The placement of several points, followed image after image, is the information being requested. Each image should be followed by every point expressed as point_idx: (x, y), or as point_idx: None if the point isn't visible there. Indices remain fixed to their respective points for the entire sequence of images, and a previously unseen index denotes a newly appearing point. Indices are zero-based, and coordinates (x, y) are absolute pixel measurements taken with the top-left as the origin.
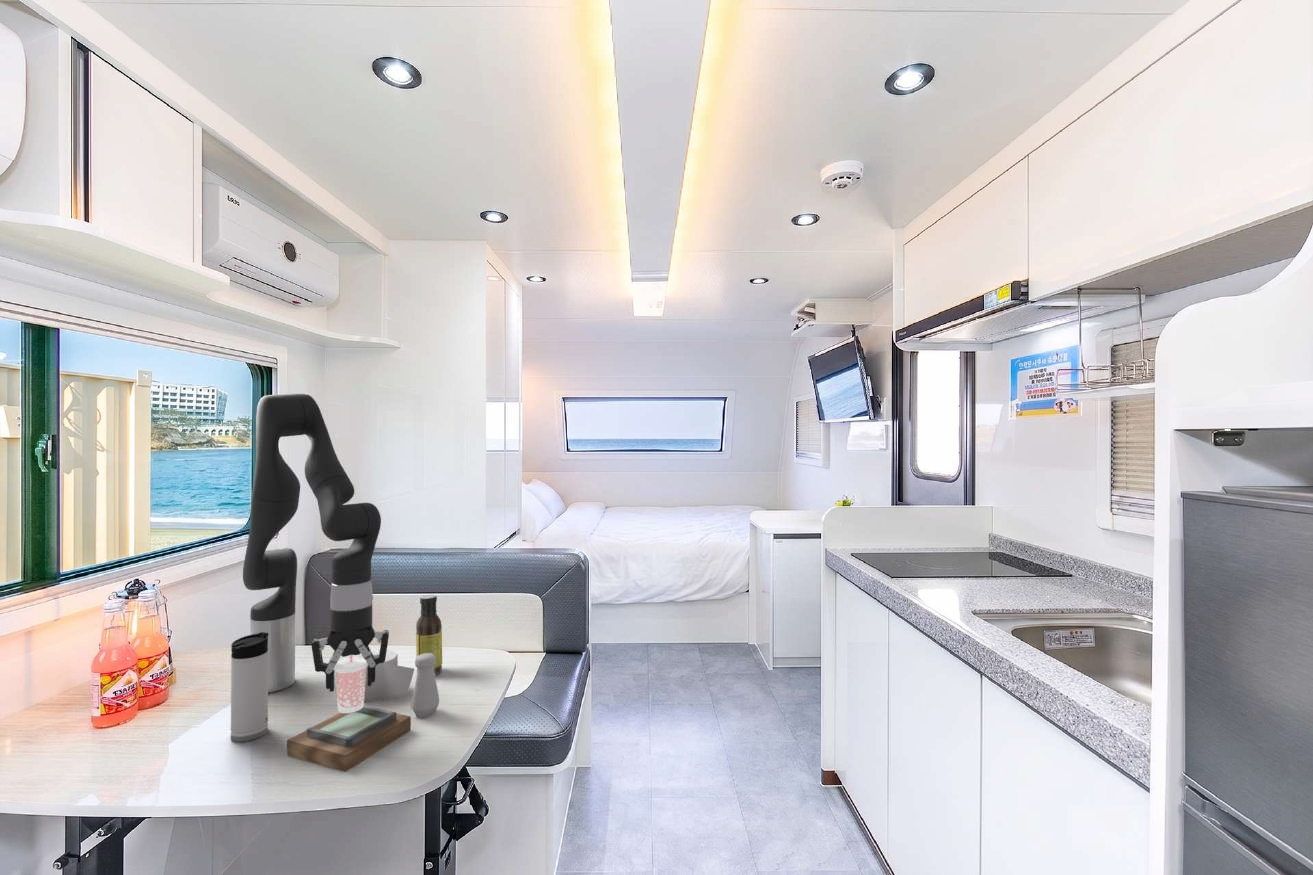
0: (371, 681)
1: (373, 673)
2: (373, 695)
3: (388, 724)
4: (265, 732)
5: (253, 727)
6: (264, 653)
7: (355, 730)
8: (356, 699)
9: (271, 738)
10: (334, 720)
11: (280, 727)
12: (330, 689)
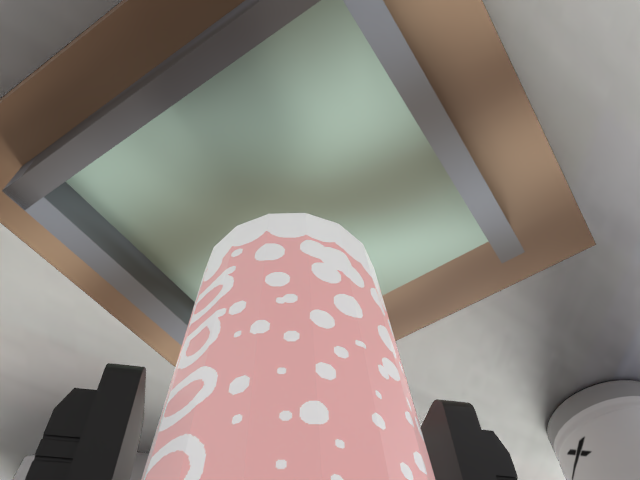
0: (96, 402)
1: (46, 477)
2: None
3: (69, 127)
4: (565, 404)
5: (635, 420)
6: None
7: (271, 149)
8: (256, 271)
9: (557, 362)
10: None
11: (505, 419)
12: (470, 416)
